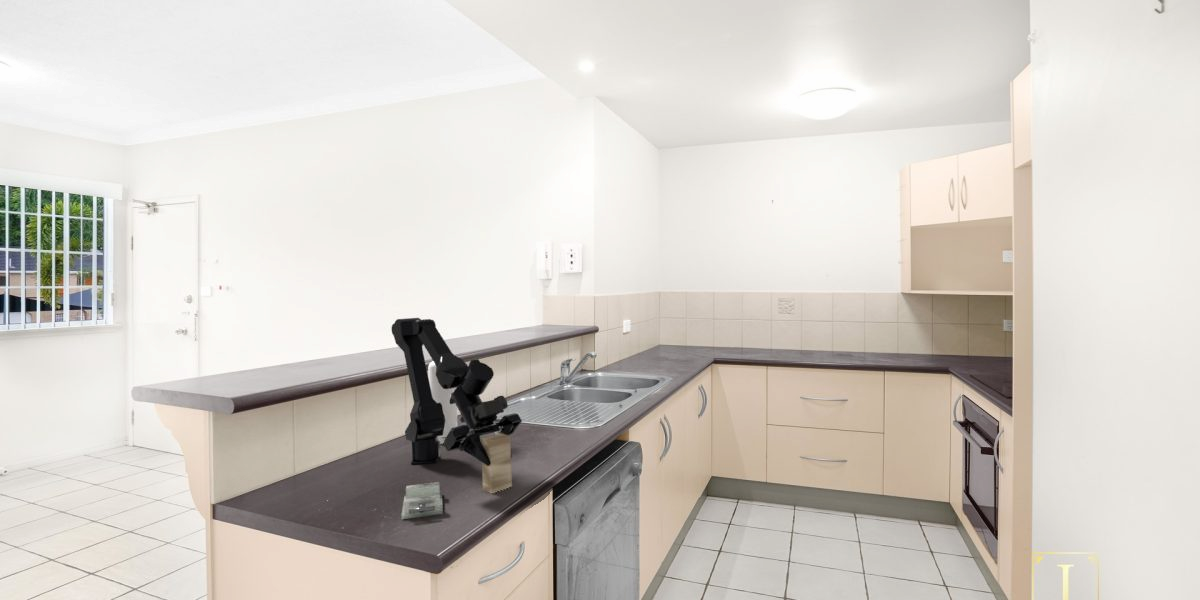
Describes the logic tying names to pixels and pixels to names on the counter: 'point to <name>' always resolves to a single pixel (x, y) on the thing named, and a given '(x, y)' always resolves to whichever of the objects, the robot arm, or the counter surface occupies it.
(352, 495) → the counter surface
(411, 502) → the frosted green stand
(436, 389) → the bottle
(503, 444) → the beech block
